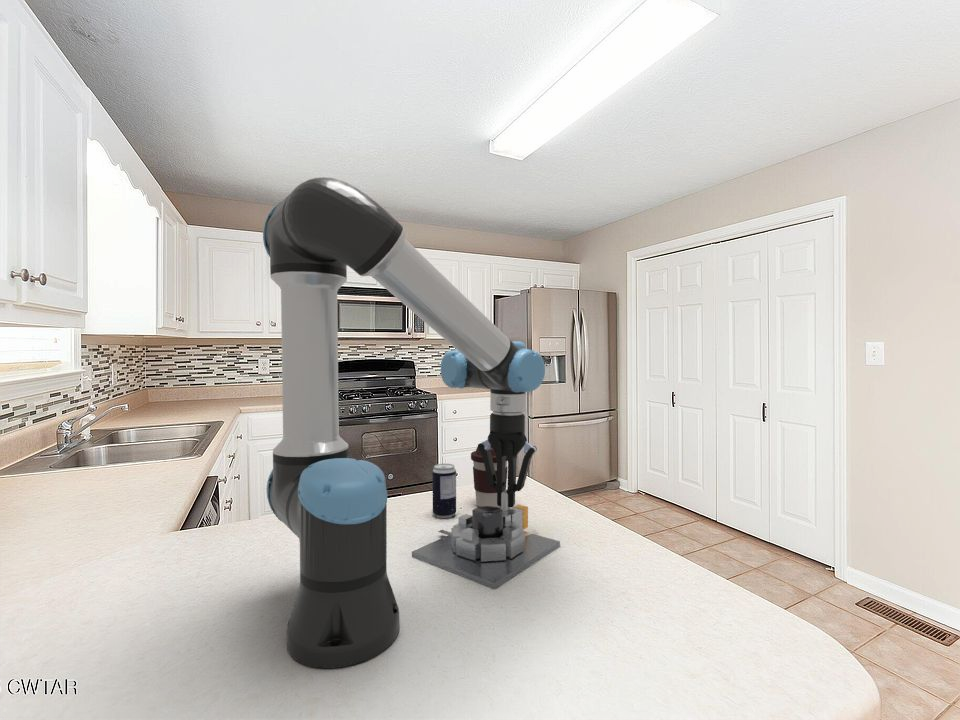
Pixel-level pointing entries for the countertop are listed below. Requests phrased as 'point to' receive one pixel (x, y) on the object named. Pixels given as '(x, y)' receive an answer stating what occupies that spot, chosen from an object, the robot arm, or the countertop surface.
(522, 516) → the segmented block ring
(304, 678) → the countertop surface
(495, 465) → the coffee cup
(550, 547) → the flange plate
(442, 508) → the beverage can
